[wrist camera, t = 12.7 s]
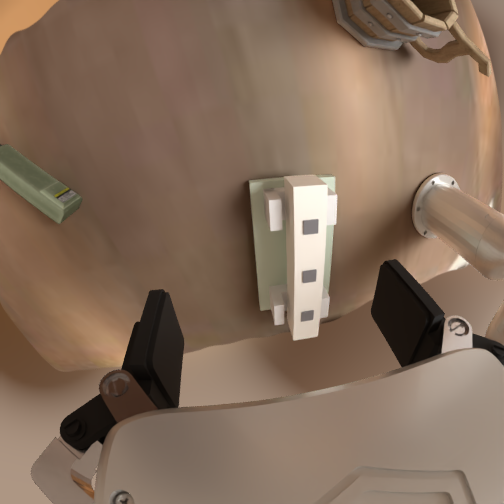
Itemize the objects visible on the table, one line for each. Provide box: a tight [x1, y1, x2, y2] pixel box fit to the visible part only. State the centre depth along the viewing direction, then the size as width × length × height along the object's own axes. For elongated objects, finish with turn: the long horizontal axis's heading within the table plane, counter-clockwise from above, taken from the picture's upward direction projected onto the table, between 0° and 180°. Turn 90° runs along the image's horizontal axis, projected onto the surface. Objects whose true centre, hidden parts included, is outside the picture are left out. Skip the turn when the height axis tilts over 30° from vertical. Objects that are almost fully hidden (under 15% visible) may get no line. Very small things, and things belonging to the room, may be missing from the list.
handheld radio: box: [0, 144, 82, 224], centre depth 28 cm, size 7×3×25 cm
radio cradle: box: [249, 174, 337, 325], centre depth 40 cm, size 12×22×6 cm, turn 5°
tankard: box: [332, 0, 491, 77], centre depth 20 cm, size 20×13×15 cm, turn 54°
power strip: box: [284, 174, 328, 340], centre depth 38 cm, size 4×24×5 cm, turn 5°
